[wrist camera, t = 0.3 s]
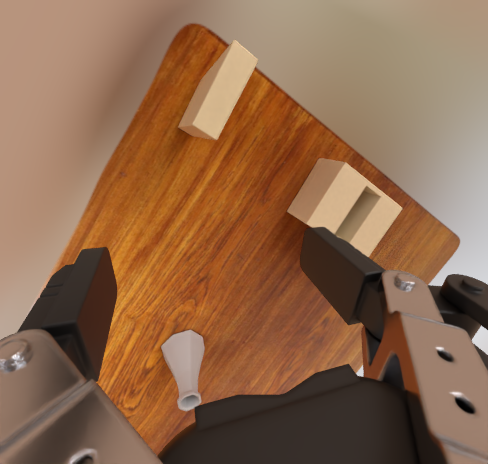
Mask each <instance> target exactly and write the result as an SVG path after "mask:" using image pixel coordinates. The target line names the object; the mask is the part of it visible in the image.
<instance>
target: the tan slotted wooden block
mask: <svg viewBox="0 0 488 464" xmlns="http://www.w3.org/2000/svg"><path fill="white" fill-rule="evenodd" d="M402 209H403V208H402V207H401V206H399V205H398V204H397V203H396V202H394V201H393V200H392V199H391V198H389V197H388V196H387V195H386V194H384V193H383V192H382V191H381V190H379V189H378V188H377V187H376V186H374V185H373V184H372V183H371V182H369V181H368V180H367V179H366V178H364V177H363V176H362V175H361V174H359V173H358V172H357V171H356V170H354V169H353V168H352V167H351V166H349V165H348V164H347V163H346V162H340V161H334V160H328V159H322V158H319V159H318V161H317V163H316V164H315V166H314V168H313V169H312V171H311V173H310V174H309V176H308V177H307V179H306V181H305V182H304V184H303V186H302V187H301V189H300V191H299V192H298V194H297V195H296V197H295V199H294V200H293V202H292V204H291V205H290V207H289V209H288V210H287V212H288V213H290V214H291V215H293V216H294V217H296V218H298V219H299V220H301V221H302V222H304V223H305V224H307V225H309V226H311V227H312V228H313V227H326V228H327V229H328V230H330V231H331V232H332V233H333V234H335V235H336V236H337V237H339V238H341V239H343V240H345V241H347V242H349V243H350V244H351V245H353V246H354V247H355V249H358V250H359V251H361V252H362V254H365V255H366V256H367V257H369V255H370V254H371V253H372V251H373V250H374V248H375V247H376V246H377V244H378V243H379V241H380V240H381V238H382V237H383V236H384V234H385V233H386V231H387V230H388V229H389V227H390V226H391V224H392V223H393V221H394V220H395V219H396V217H397V216H398V214H399V213H400V212H401V210H402Z"/></svg>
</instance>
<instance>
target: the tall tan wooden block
mask: <svg viewBox="0 0 488 464" xmlns="http://www.w3.org/2000/svg"><path fill="white" fill-rule="evenodd" d="M257 62H258V59H257V58H256V57H254V56H253V55H252V54H251V53H250V52H249V51H247V50H246V49H245V48H244V47H243V46H242V45H240V44H239V43H238V42H237V41H236V40H234V41H233V42H232V43H231V44H230V45H229V47H228V48H227V49H226V50H225V51H224V53H223V54H222V55H221V56H220V58H219V59H218V60H217V61H216V62H215V64H214V65H213V66H212V67H211V68H210V70H209V71H208V72H207V73H206V75H205V76H204V77H203V78H202V79H201V81H200V83H199V85H198V87H197V89H196V91H195V93H194V95H193V97H192V99H191V101H190V103H189V105H188V107H187V109H186V111H185V113H184V115H183V118H182V120H181V122H180V124H179V126H178V128H180V129H181V130H183V131H185V132H186V133H188V134H189V135H191V136H195V137H201V138H207V139H212V140H217V139H218V137H219V135H220V133H221V131H222V130H223V128H224V126H225V124H226V122H227V120H228V118H229V116H230V114H231V112H232V110H233V108H234V107H235V105H236V103H237V101H238V99H239V97H240V95H241V93H242V91H243V89H244V87H245V85H246V84H247V82H248V80H249V78H250V76H251V74H252V72H253V70H254V68H255V66H256V64H257Z"/></svg>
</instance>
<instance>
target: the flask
mask: <svg viewBox="0 0 488 464" xmlns="http://www.w3.org/2000/svg"><path fill="white" fill-rule="evenodd" d="M161 348H162V352H163V356H164V359H165V361H166V363H167V365H168V367H169V368H170V370H171V372H172V374H173V376H174V378H175V380H176V382H177V385H178V389H179V398H178V400H177V402H178V406H179V409H181V410H184V411H188V410H191V409H194V407H196V406H198V405H199V404H200V403H201V397H200V393H198V376H199V371H200V366H201V362H202V358H203V355H204V350H205V347H204V342H203V337H202V336H200V335H198V334H197V333H195V332H194V331H192V330H188V331H184V332H181V333H177V334H174V335H172V336H171V337H170V338H169V339H168V340H167V341H166V342H165V343H164V344H163V345H162V346H161Z"/></svg>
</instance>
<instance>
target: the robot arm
mask: <svg viewBox="0 0 488 464" xmlns="http://www.w3.org/2000/svg"><path fill="white" fill-rule="evenodd" d="M300 265H301V268H302V270H303V272H304V273H305V274H306V275H307V276H308V278H309V279H310V280H311V281H312V282H313V284H314V285H315V286H316V287H317V288H318V290H319V291H320V292H321V293H322V294H323V296H324V297H325V298H326V299H327V300H328V302H329V303H330V304H331V305H332V306H333V307H334V309H335V310H336V311H337V312H338V313H339V315H340V316H341V317H342V318H343V319H344V321H345V322H346V323H347V324H348V325H352V324H356V323H360V322H361V323H362V324H363V325H364V326H363V328H362V331H361V335H362V352H363V370H364V377H361V376H357V375H356V373H355V372H354V371H353V369H352V368H351V366H350V365H349V364H346V365H343V366H339V367H335V368H332V369H328V370H325V371H321V372H317V373H315V374H313V375H312V376H310V377H309V378H308V379H306V380H305V381H303V382H302V383H300V384H299V385H297V386H296V387H294V388H293V389H291V390H290V391H288V392H287V393H285V394H281V395H235V396H232V397H228V398H224V399H221V400H217V401H214V402H210V403H206V404H203V405H199V406H196V407H194V408H195V421H196V422H194V423H193V424H191V425H189V426H188V427H186V428H185V429H184V430H182V431H181V432H180V433H179V434H177V435H176V436H175V437H174V438H173V439H172V440H171V441H170V442H169V443H168V444H167V445H166V446H165V447H164V448H163V450H162V451H161V452H160V453H159V454H158V456H156V454H155V453H154V452H153V451H152V449H151V448H150V447H149V446H148V445H147V443H146V442H145V441H144V440H143V438H142V437H141V436H140V435H139V434H138V432H137V431H136V430H135V429H134V428H133V426H132V425H131V424H130V423H129V421H128V420H127V419H126V418H125V417H124V415H123V414H122V413H121V412H120V410H119V409H118V408H117V407H116V406H115V404H114V403H113V402H112V401H111V400H110V398H109V397H108V396H107V395H106V393H105V392H104V391H103V390H102V389H101V387H100V386H99V385H98V384H97V383H96V382H97V381H98V379H99V374H100V370H101V365H102V361H103V357H104V352H105V348H106V343H107V339H108V334H109V330H110V326H111V321H112V317H113V312H114V308H115V304H116V299H117V284H116V279H115V275H114V270H113V266H112V262H111V258H110V254H109V250H108V248H107V247H102V248H92V249H83V250H81V252H80V254H79V256H78V258H77V260H76V261H75V263H74V264H72V265H65V266H64V267H63V268H61V269H60V270H59V271H58V272H56V273H55V274H54V275H53V276H52V277H51V279H50V280H49V282H48V284H47V285H46V288H44V290H43V292H42V293H41V295H40V298H38V300H37V301H36V303H35V304H34V306H33V308H32V309H31V311H30V312H29V314H28V316H27V317H26V319H25V320H24V322H23V324H22V325H21V327H20V329H19V330H18V332H17V333H15V334H12V335H9V336H8V337H5V338H3V339H1V340H0V464H488V355H487V354H485V353H484V352H483V351H482V350H481V349H479V348H478V347H477V346H476V345H475V344H473V343H472V341H471V340H472V338H473V337H474V335H475V333H476V332H477V331H478V329H479V328H480V326H481V325H482V326H483V327H484V328H486V329H487V330H488V285H487V284H485V283H484V282H482V281H479V280H477V279H475V278H472V277H468V276H464V275H459V274H452V275H448V276H447V278H446V279H445V282H444V283H443V285H442V286H430V285H427V284H426V283H425V282H424V281H422V280H421V279H420V278H418V277H416V276H414V275H412V274H410V273H407V272H404V271H399V270H387V271H386V270H384V269H383V268H382V267H380V266H379V265H378V264H376V263H375V262H374V261H372V260H371V259H370V258H369V257H367V256H366V255H365V254H362V252H361V251H359V250H358V249H355V247H354V246H353V245H351V244H350V243H349V242H347V241H345V240H343V239H341V238H339V237H337V236H336V235H335V234H333V233H332V232H331V231H330V230H328V229H327V228H326V227H313V228H307V229H306V230H305V233H304V238H303V244H302V250H301V255H300Z"/></svg>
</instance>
